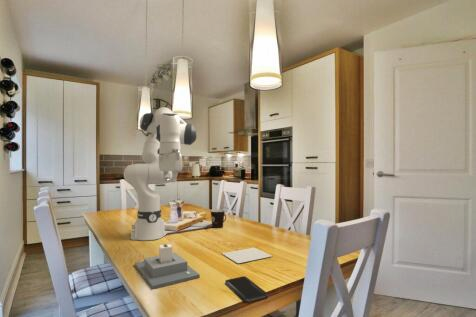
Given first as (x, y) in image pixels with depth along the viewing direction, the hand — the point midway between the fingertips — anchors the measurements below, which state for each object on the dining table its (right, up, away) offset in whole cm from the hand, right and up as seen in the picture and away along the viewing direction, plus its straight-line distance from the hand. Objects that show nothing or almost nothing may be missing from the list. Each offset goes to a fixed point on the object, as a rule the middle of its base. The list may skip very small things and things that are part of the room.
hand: (170, 181), depth 120 cm
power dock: (+3, -31, -20) cm, 37 cm away
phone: (+32, -31, -35) cm, 56 cm away
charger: (+3, -30, -20) cm, 36 cm away
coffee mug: (+17, -32, +48) cm, 60 cm away
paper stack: (+32, -31, -9) cm, 46 cm away
